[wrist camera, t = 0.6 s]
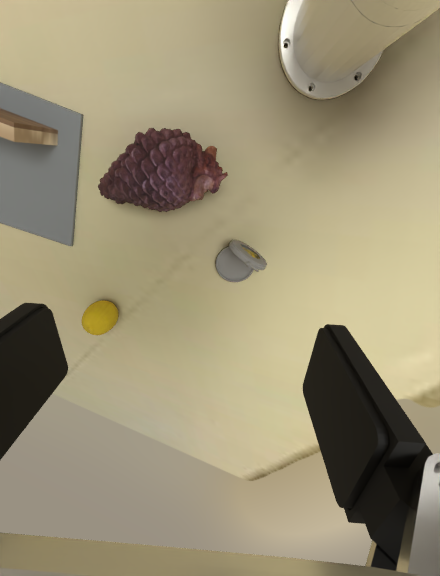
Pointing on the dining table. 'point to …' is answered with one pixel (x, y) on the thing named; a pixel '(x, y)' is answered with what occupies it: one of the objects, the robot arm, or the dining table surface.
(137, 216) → the dining table surface
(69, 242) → the mat
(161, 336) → the dining table surface
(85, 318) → the lemon
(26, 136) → the wooden block
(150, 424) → the dining table surface
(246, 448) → the dining table surface
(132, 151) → the pine cone
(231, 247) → the pocket watch
